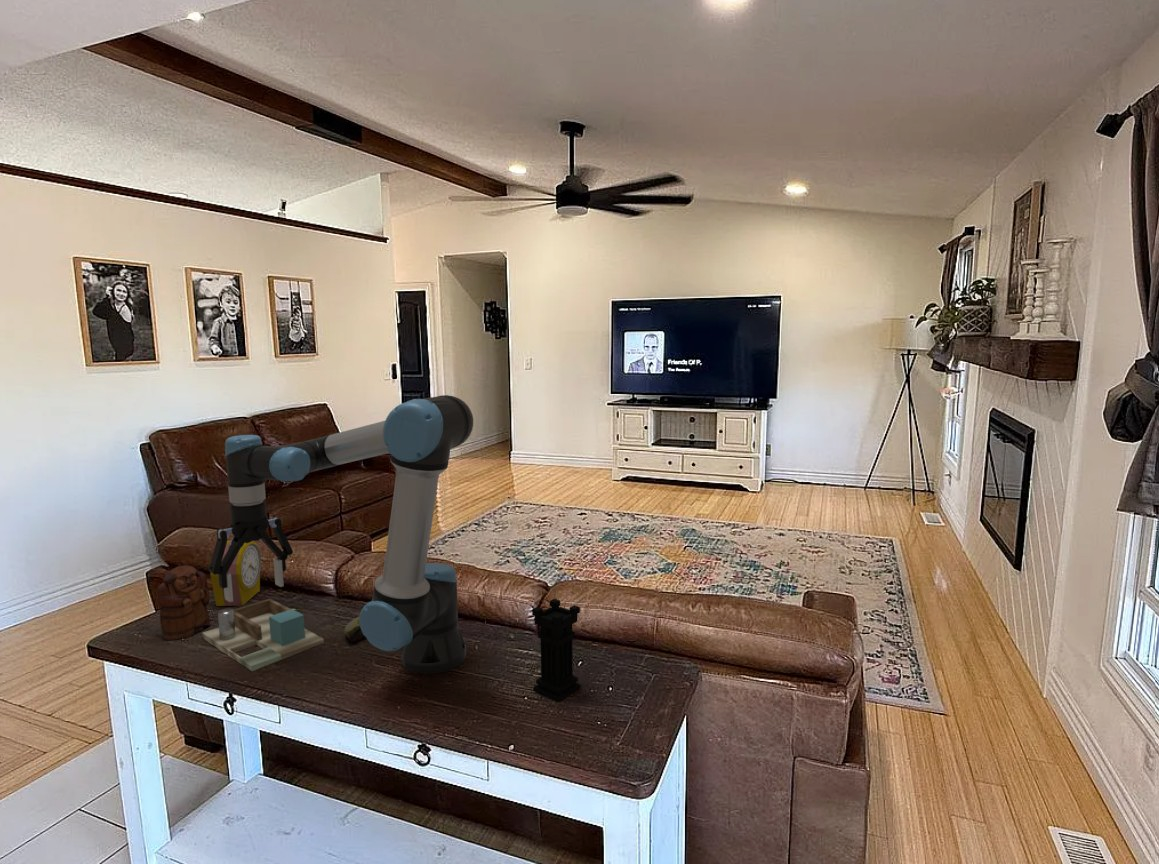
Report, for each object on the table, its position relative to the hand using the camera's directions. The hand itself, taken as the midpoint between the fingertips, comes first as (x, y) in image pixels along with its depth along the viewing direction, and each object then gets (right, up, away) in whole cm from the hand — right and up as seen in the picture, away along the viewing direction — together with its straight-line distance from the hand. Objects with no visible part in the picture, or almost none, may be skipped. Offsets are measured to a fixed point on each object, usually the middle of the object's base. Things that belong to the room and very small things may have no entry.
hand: (254, 592), depth 155 cm
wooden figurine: (-27, -15, +19) cm, 37 cm away
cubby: (-7, -13, +20) cm, 25 cm away
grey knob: (-13, -14, +12) cm, 23 cm away
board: (-5, -16, +13) cm, 21 cm away
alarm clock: (-25, -12, +42) cm, 50 cm away
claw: (+19, -16, +23) cm, 34 cm away
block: (+3, -14, +12) cm, 19 cm away
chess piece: (+72, -19, -13) cm, 76 cm away
